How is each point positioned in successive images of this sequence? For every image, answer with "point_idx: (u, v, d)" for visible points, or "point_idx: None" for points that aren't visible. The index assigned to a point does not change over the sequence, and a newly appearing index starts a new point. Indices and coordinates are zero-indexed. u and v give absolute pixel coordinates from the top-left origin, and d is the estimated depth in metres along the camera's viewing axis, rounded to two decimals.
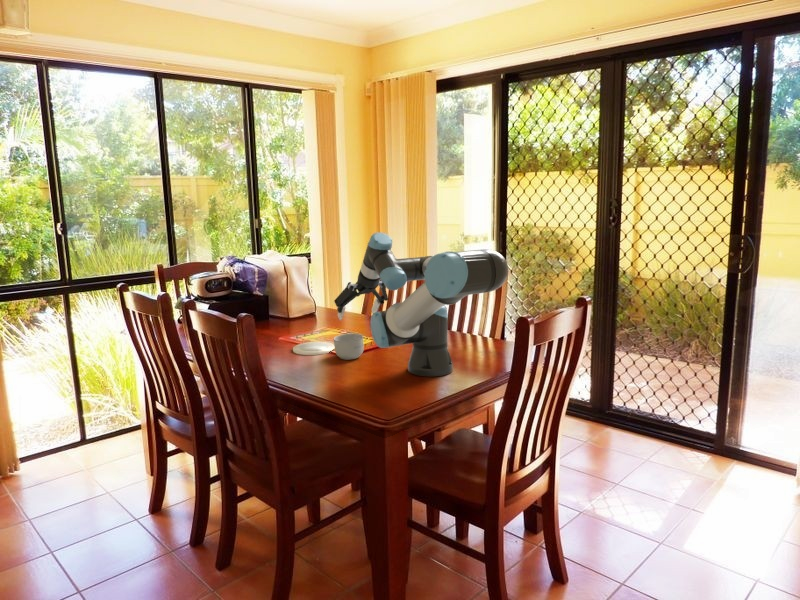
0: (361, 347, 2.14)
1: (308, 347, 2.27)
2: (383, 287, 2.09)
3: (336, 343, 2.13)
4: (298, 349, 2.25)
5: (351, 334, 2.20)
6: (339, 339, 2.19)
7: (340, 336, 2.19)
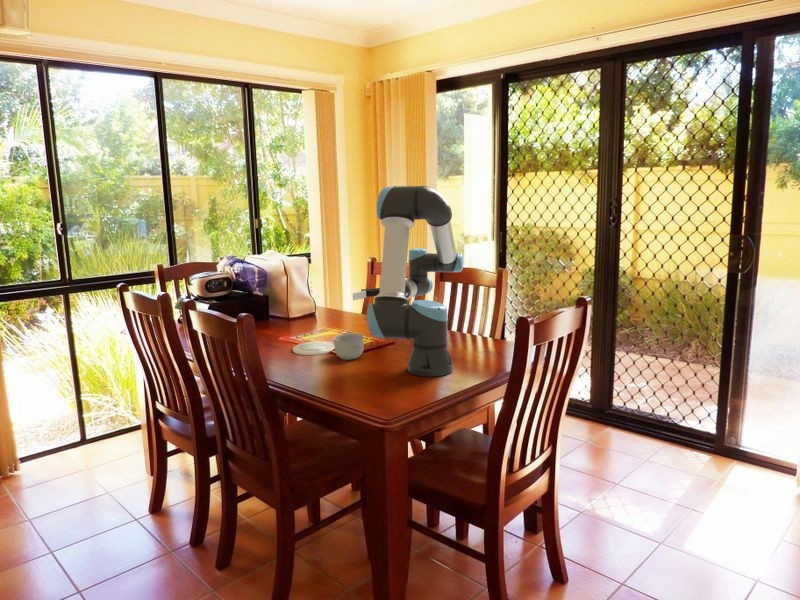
0: (361, 347, 2.14)
1: (308, 347, 2.27)
2: None
3: (336, 343, 2.13)
4: (298, 349, 2.25)
5: (351, 334, 2.20)
6: (339, 339, 2.19)
7: (340, 336, 2.19)
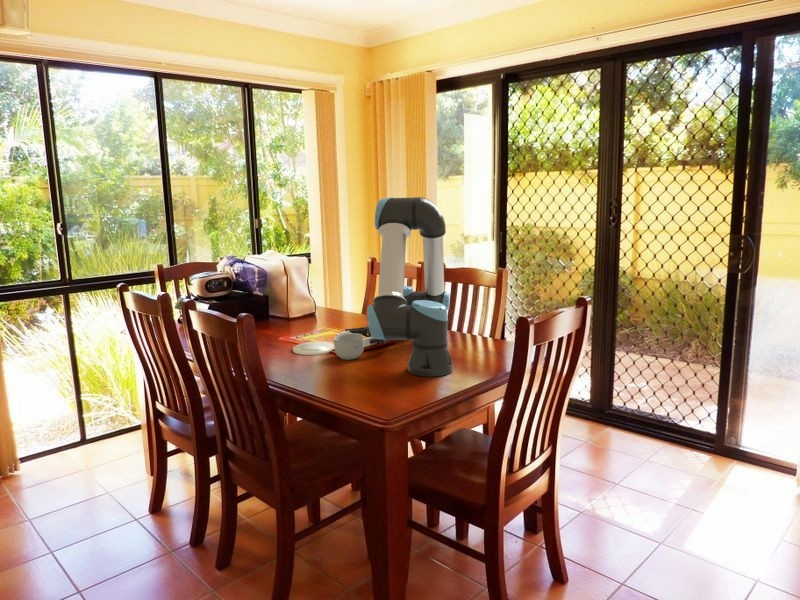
0: (361, 347, 2.14)
1: (308, 347, 2.27)
2: None
3: (336, 343, 2.13)
4: (298, 349, 2.25)
5: (351, 334, 2.20)
6: (339, 339, 2.19)
7: (340, 336, 2.19)
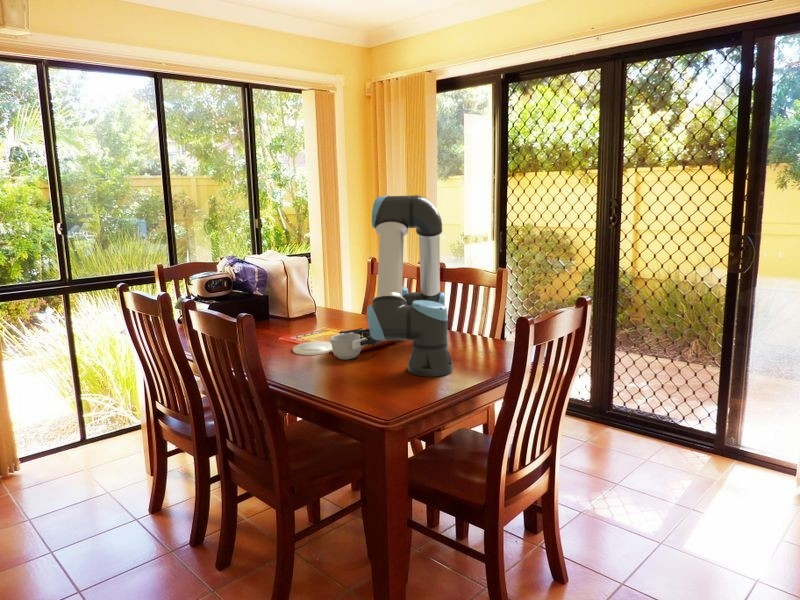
0: None
1: (308, 347, 2.27)
2: None
3: (332, 342, 2.13)
4: (298, 349, 2.25)
5: (351, 334, 2.20)
6: (339, 338, 2.20)
7: (340, 335, 2.20)
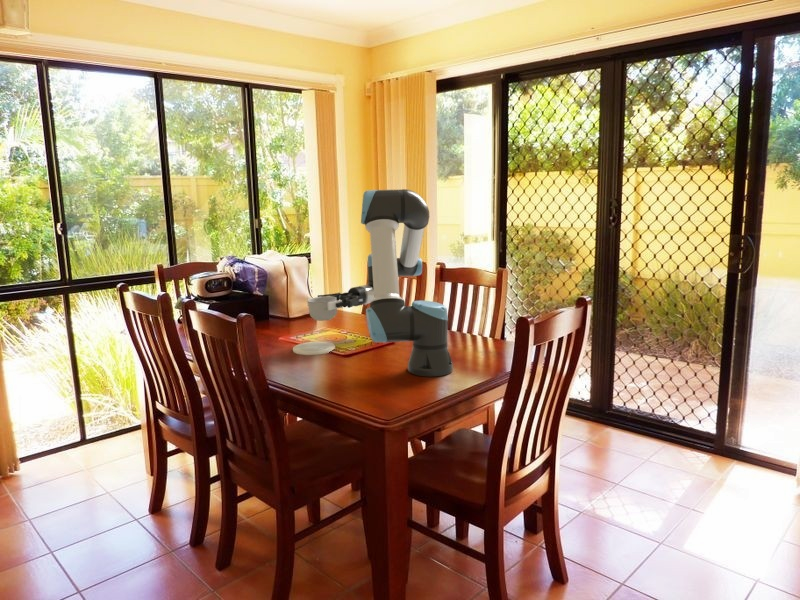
0: None
1: (308, 347, 2.27)
2: (358, 297, 2.27)
3: (309, 304, 2.19)
4: (298, 349, 2.25)
5: (328, 297, 2.26)
6: (316, 301, 2.26)
7: (317, 298, 2.26)
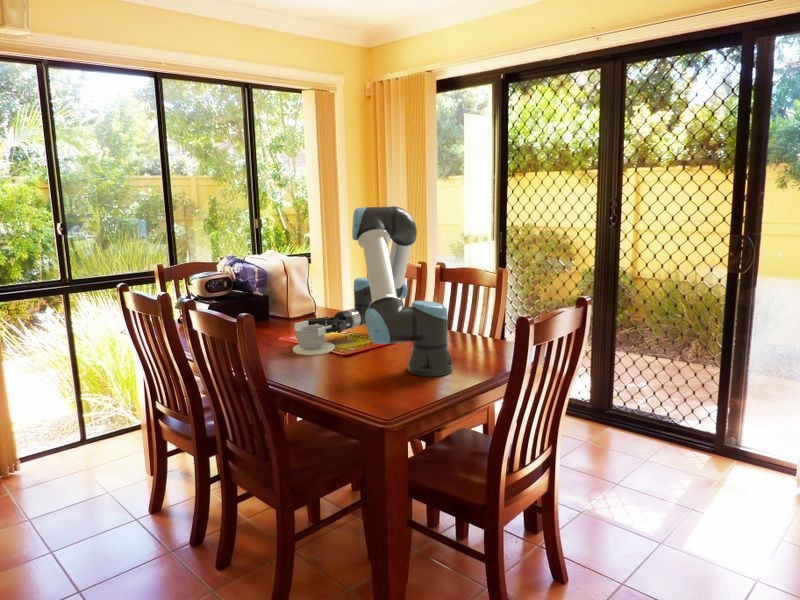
0: (320, 338, 2.23)
1: None
2: (345, 322, 2.31)
3: (297, 333, 2.23)
4: (298, 349, 2.25)
5: (316, 325, 2.30)
6: (304, 330, 2.29)
7: (305, 327, 2.30)
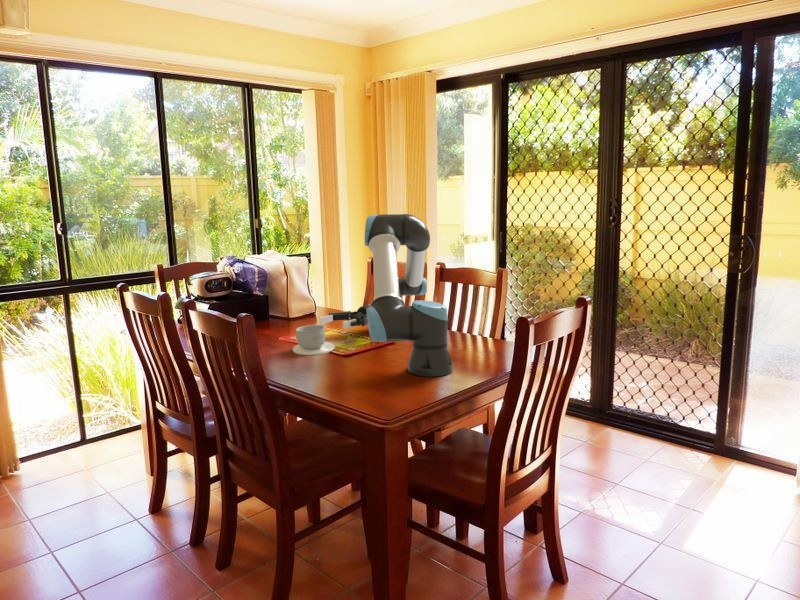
0: (320, 338, 2.23)
1: None
2: None
3: (297, 333, 2.23)
4: (298, 349, 2.25)
5: (316, 325, 2.30)
6: (304, 330, 2.29)
7: (305, 327, 2.30)
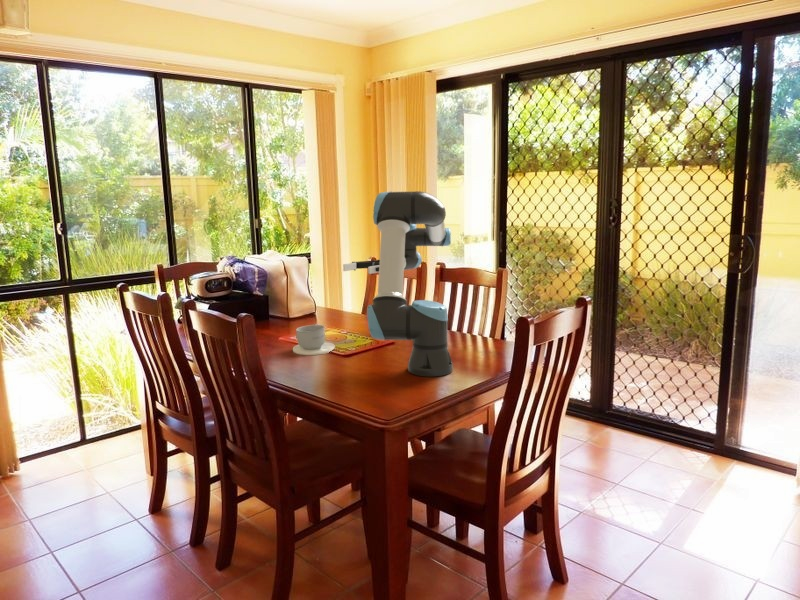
0: (320, 338, 2.23)
1: None
2: None
3: (297, 333, 2.23)
4: (298, 349, 2.25)
5: (316, 325, 2.30)
6: (304, 330, 2.29)
7: (305, 327, 2.30)
